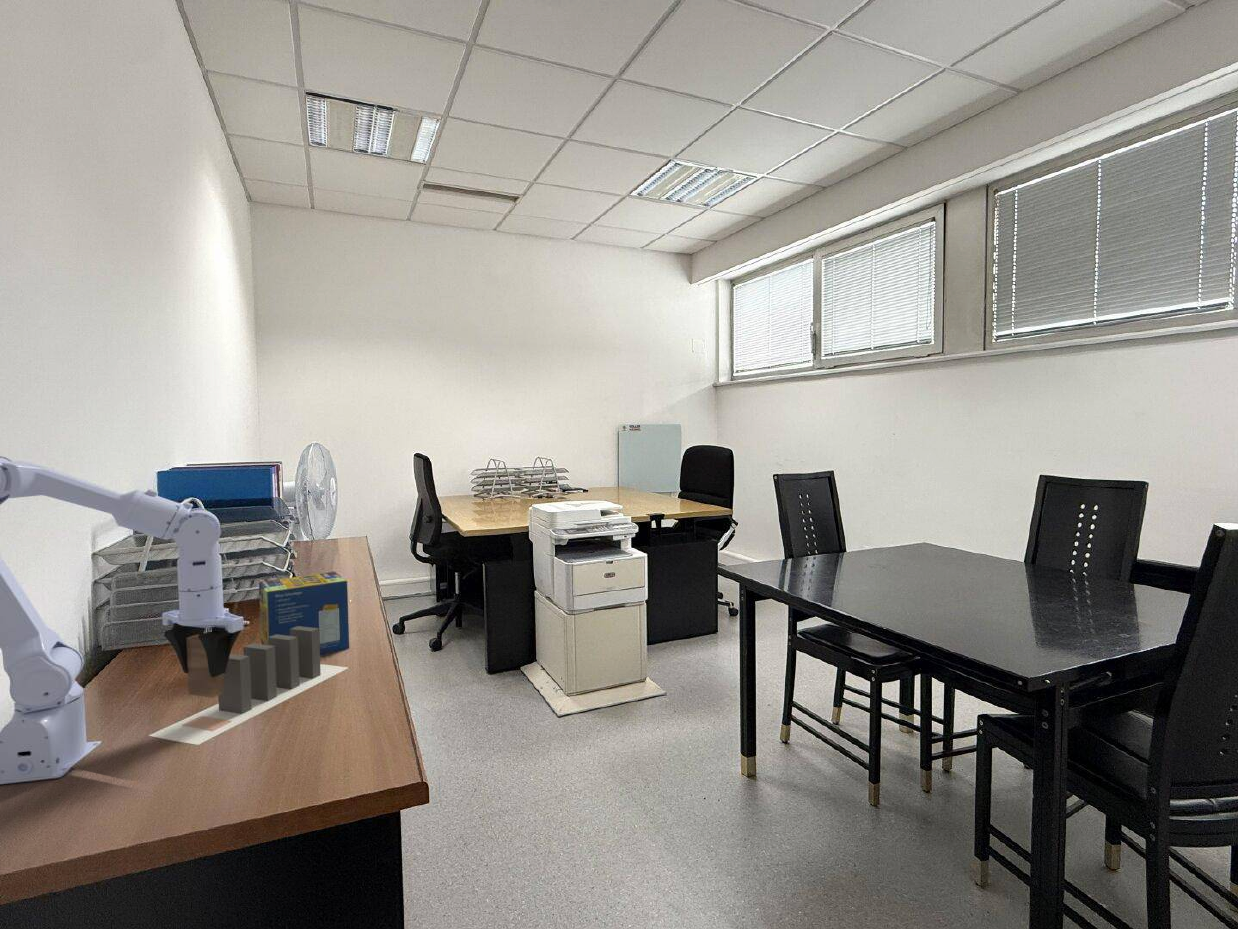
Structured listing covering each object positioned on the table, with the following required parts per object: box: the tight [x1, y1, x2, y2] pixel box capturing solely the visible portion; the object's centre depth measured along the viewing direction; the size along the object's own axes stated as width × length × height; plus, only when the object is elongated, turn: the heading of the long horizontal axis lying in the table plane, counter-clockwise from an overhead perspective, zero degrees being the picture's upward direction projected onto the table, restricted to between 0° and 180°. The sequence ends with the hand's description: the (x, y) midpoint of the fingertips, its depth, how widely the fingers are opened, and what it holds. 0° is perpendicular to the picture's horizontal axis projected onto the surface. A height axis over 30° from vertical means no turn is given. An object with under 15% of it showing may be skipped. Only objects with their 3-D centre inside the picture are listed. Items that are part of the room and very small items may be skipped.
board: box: [148, 663, 349, 746], centre depth 107 cm, size 31×10×1 cm, turn 163°
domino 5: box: [290, 626, 321, 679], centre depth 116 cm, size 2×5×9 cm, turn 73°
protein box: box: [258, 571, 350, 656], centre depth 130 cm, size 10×15×16 cm
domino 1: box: [186, 635, 223, 699], centre depth 97 cm, size 2×5×9 cm, turn 73°
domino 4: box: [268, 634, 300, 690], centre depth 111 cm, size 2×5×9 cm, turn 72°
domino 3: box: [242, 642, 277, 701], centre depth 107 cm, size 2×5×9 cm, turn 72°
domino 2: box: [217, 653, 252, 714], centre depth 102 cm, size 2×5×9 cm, turn 73°
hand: (204, 672), depth 97 cm, fingers closed on domino 1, 5 cm apart
